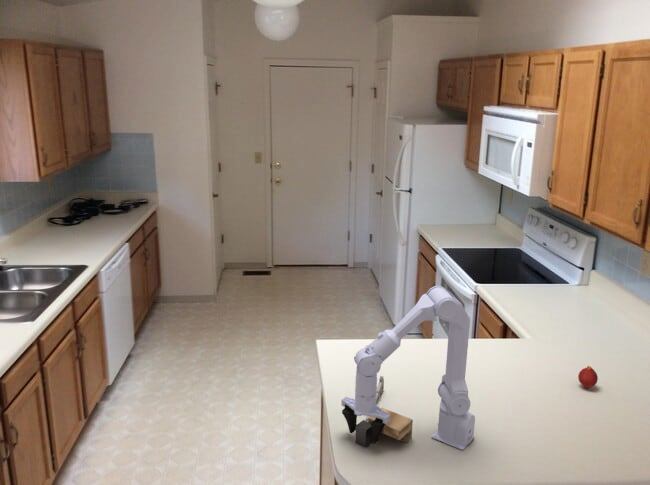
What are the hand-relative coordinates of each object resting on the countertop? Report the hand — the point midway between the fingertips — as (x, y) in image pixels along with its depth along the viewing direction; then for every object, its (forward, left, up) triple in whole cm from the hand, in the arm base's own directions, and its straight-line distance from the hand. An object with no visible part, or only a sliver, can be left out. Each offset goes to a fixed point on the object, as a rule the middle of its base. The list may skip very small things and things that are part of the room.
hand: (364, 436), depth 159 cm
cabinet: (-5, -6, -2) cm, 8 cm away
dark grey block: (0, -2, -2) cm, 3 cm away
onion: (-41, -72, -2) cm, 82 cm away
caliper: (+8, -17, -2) cm, 19 cm away
